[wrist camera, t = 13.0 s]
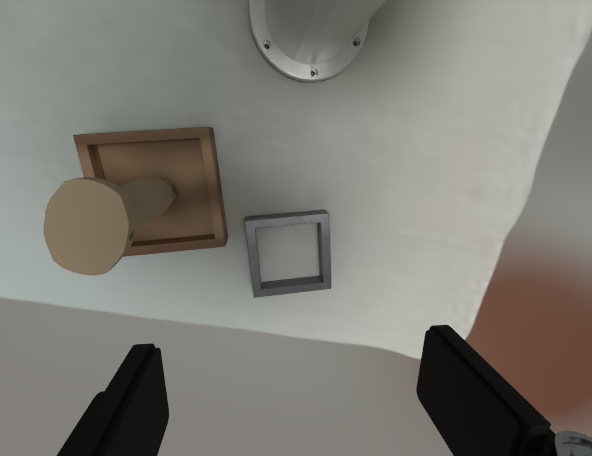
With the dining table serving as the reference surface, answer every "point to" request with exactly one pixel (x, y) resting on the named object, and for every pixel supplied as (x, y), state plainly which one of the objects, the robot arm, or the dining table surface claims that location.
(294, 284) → the collar
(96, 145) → the tray
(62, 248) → the handle
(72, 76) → the dining table surface
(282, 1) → the robot arm
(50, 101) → the dining table surface
